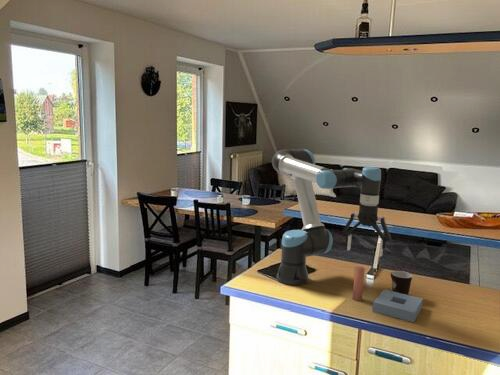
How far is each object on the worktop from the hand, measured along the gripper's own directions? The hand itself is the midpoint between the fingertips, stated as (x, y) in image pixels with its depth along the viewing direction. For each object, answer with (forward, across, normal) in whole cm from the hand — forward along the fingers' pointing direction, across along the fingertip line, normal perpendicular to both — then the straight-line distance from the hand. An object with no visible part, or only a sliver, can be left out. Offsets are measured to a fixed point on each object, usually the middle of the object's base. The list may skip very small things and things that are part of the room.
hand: (364, 252), depth 179 cm
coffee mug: (+21, +14, +14) cm, 29 cm away
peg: (+21, -1, -2) cm, 21 cm away
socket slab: (+20, +16, -3) cm, 26 cm away
